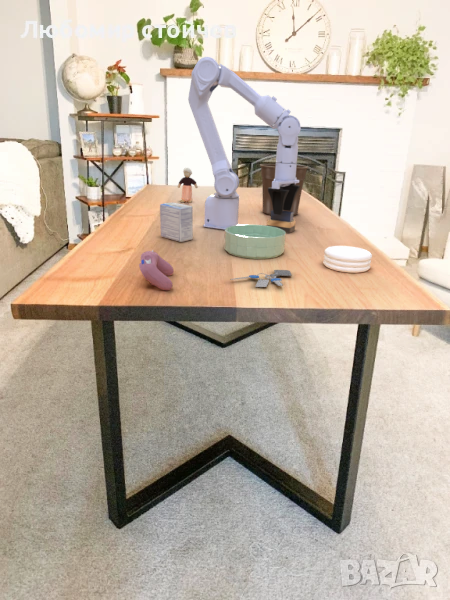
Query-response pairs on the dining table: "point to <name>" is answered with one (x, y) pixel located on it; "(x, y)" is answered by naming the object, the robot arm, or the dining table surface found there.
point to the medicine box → (176, 221)
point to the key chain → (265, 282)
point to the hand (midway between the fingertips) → (282, 212)
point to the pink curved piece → (156, 270)
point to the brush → (282, 221)
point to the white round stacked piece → (347, 259)
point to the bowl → (254, 241)
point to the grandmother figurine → (187, 186)
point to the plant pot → (267, 179)
